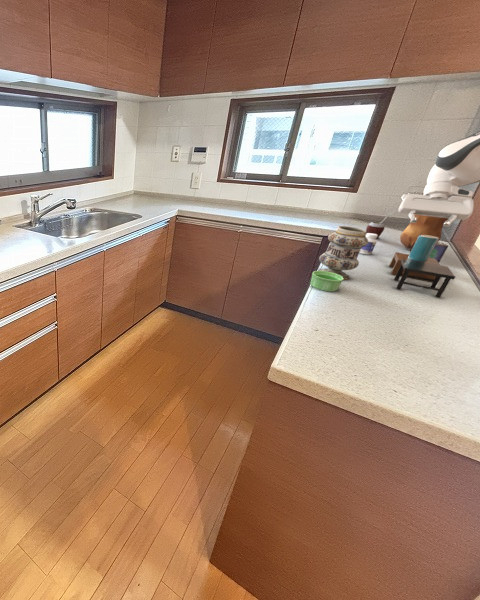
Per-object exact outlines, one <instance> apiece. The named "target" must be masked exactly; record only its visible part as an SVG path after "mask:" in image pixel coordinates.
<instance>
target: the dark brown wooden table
mask: <svg viewBox="0 0 480 600" xmlns="http://www.w3.org/2000/svg"><path fill="white" fill-rule="evenodd" d="M401 263H402V264H401V266H400V268H399V270H398V272H397V274H396V275H394V276H395V277H394V279H393V281H394V282H395V281H396V282H398V281H399V282H398V283H397V286H396V287H395V289H396V290H398V291H399V290H401V289H402V288H403V286H404V285H407V286H412V287H416V288H423V289H428V290H432V291H436V292H437V293H436V294H435V298H438V299H441V297H442V295H443V294H444V292H445V290H446V288H447V287H448V285H449V283H450V281H451V280H454V279H455V278H456V275H455V274H454V273H453V272H452V270H451V269H450V267H449V266H447V265H441V264H440V265H436V264H430V263H424V262H418V261H412V260H406V259H402V260H401ZM403 270H404V271H405V272H404V274H402V272H403ZM409 272H415V273H421V274H426V275H432V276H436V278H435V280H433V279H427V278H422V277H417V276H411V275H408V274H409ZM408 277H411V278H410V279H413V278H416V279H415V280H418V279H422V280H421V281H424V280H427V281H426V282H429V281H432V282H431V285H430V286H427V285H423V284H418V283H411V282H407V281H406V280H407V278H408ZM441 278H443V279H444V280H443V282H442V283H441V285H440V287H439V288H438V287H437V285H438V284H439V282H440V280H441Z"/></svg>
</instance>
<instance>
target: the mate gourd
mask: <svg viewBox="0 0 480 600" xmlns="http://www.w3.org/2000/svg"><path fill="white" fill-rule="evenodd" d="M396 213H397V211H394V212H391V213H389V214H387V215H386V216H385V217H384V219H383V220H381V222H378V221H371V222H370V223H369V224H368V225H366V228H365V231H366V234H367V233H373V234H377V235H378V236H377V238H376V240H378V239H380V238H379V237H380V236H381V235H382V233H383V232H384V231H385V224H384V222H385V220H387V218H389V217H390V216H391V215H393V214H396Z"/></svg>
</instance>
